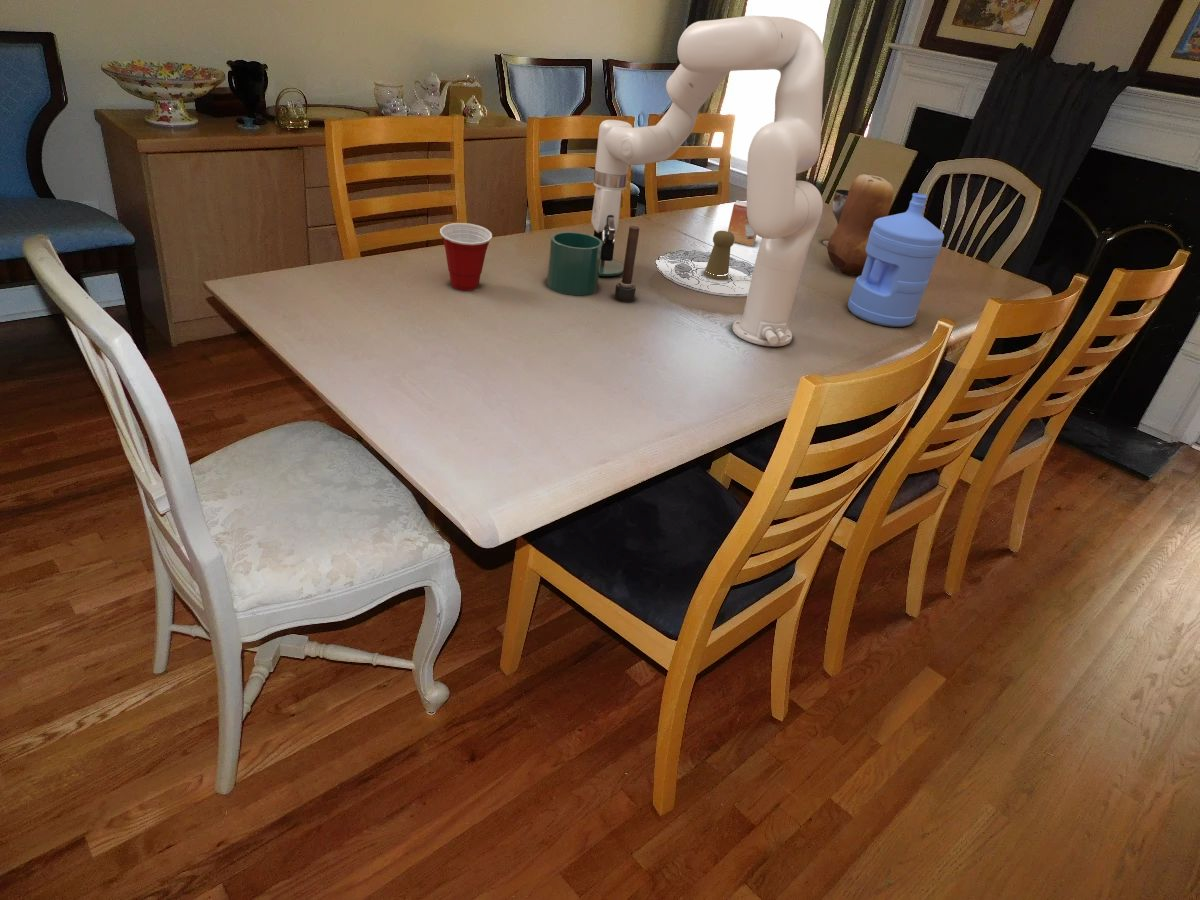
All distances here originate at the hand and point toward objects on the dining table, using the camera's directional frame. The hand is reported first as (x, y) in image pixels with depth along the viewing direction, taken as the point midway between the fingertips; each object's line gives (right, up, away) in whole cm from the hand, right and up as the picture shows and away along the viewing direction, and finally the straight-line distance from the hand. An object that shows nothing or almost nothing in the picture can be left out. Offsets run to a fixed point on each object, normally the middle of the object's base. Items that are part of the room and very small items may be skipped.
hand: (602, 253), depth 182 cm
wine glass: (+69, +14, +46) cm, 85 cm away
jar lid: (-1, -3, +2) cm, 3 cm away
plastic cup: (-30, -12, -17) cm, 36 cm away
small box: (+40, +13, +37) cm, 56 cm away
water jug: (+66, -15, -1) cm, 68 cm away
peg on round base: (+5, -13, -12) cm, 18 cm away
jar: (-7, -10, -9) cm, 15 cm away
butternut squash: (+66, +1, +25) cm, 71 cm away
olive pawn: (+28, -3, +9) cm, 30 cm away
